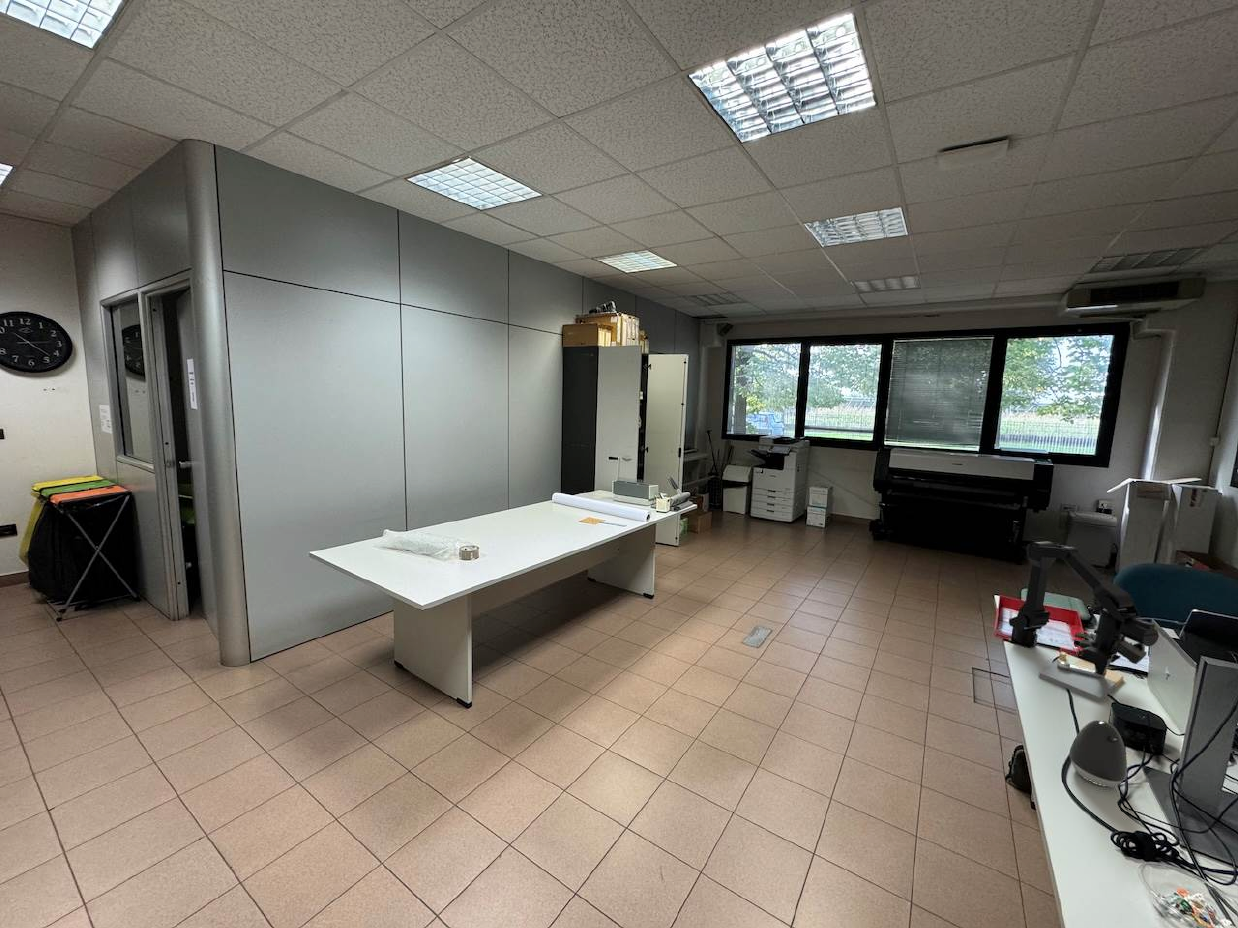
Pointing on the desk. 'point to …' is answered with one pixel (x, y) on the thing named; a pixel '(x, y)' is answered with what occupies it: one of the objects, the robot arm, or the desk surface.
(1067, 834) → the desk surface
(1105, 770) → the egg shaped dome
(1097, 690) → the door board
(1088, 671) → the door handle
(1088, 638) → the end cap
